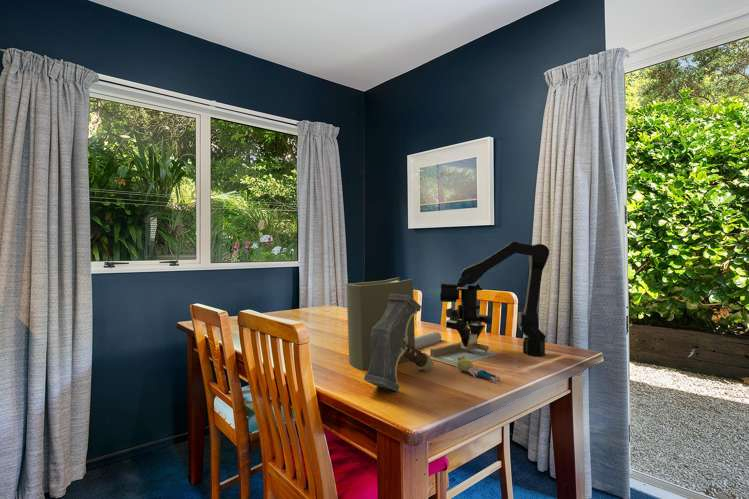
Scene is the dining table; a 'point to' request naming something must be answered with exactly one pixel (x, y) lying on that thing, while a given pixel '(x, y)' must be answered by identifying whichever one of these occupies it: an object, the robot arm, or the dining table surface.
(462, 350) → the board
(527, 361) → the dining table surface
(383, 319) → the hammer
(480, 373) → the figurine
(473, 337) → the wooden block with peg
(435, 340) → the tube
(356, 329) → the book
